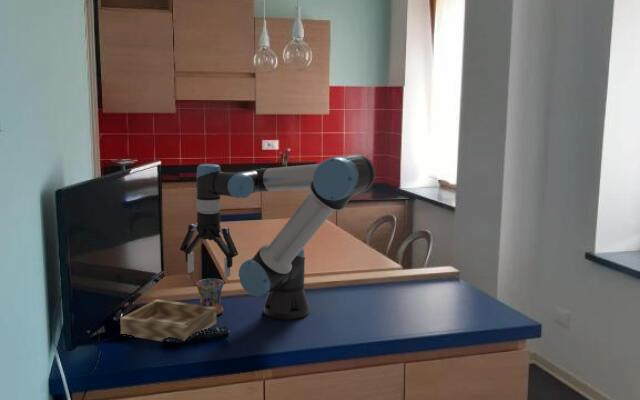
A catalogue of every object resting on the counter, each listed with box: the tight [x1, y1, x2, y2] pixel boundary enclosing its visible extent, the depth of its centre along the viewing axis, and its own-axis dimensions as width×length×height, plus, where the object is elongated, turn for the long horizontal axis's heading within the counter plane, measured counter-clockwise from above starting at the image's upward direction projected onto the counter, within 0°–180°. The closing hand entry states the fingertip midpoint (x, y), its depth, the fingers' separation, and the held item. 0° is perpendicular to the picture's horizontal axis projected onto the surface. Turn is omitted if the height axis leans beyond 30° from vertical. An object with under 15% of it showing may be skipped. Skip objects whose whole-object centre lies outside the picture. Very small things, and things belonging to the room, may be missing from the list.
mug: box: [195, 278, 225, 316], centre depth 202 cm, size 12×9×11 cm
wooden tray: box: [119, 298, 218, 342], centre depth 187 cm, size 22×19×5 cm
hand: (208, 274), depth 201 cm, fingers open, 13 cm apart
